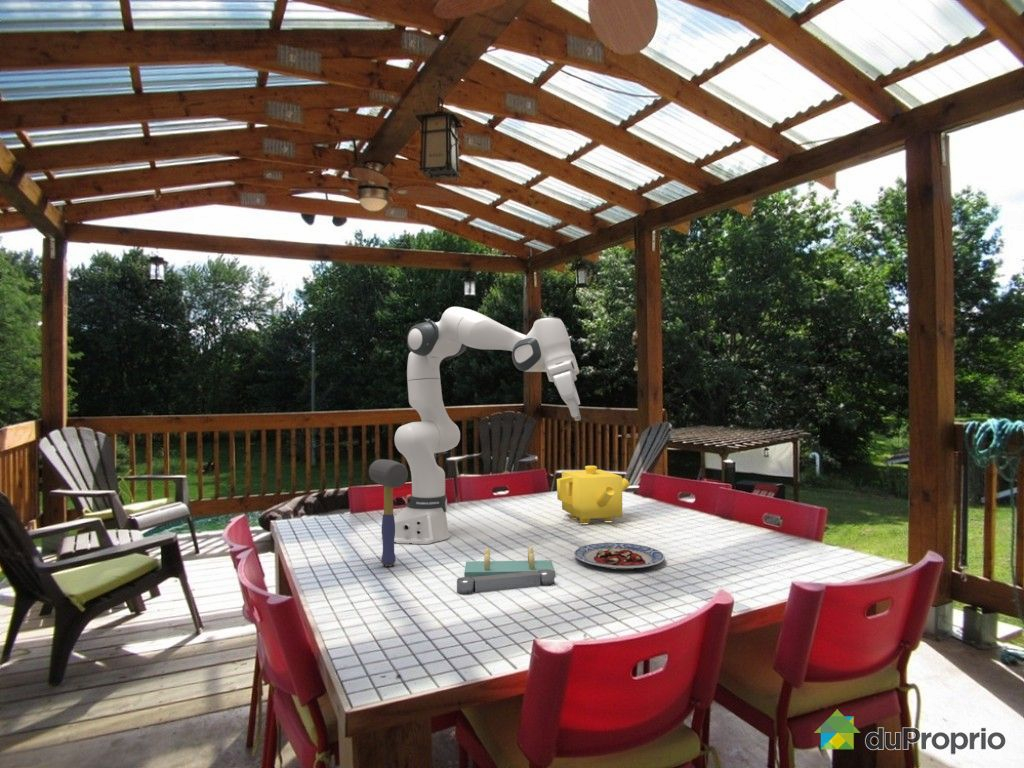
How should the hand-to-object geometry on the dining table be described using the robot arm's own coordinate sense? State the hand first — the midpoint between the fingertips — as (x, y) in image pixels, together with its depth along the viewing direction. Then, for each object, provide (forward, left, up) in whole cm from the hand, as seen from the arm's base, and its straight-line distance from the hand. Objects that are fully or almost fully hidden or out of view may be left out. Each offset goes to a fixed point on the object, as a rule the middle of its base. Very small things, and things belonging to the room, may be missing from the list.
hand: (576, 418), depth 169 cm
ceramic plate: (+13, +9, -42) cm, 45 cm away
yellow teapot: (+15, +64, -42) cm, 78 cm away
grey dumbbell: (-20, -13, -42) cm, 48 cm away
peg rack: (-19, 0, -42) cm, 46 cm away
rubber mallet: (-53, +7, -42) cm, 68 cm away
